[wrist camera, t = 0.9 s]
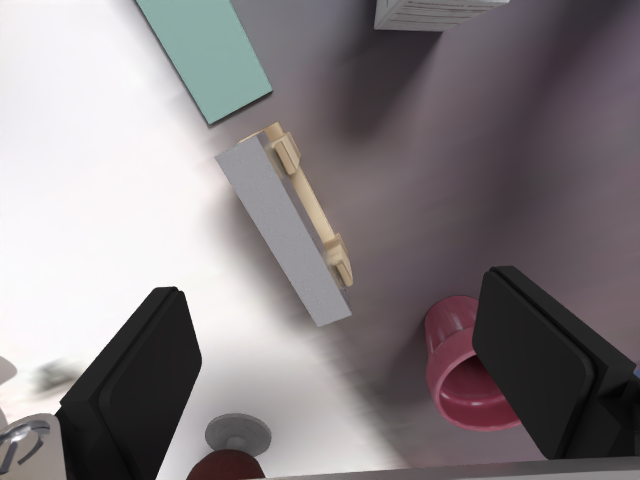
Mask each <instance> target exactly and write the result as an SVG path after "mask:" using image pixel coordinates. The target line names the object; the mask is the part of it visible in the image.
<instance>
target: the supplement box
mask: <svg viewBox="0 0 640 480" xmlns="http://www.w3.org/2000/svg"><path fill="white" fill-rule="evenodd" d="M509 1H510V0H377V6H376V14H375V23H374V29H375V30H377V29H381V30H412V31H445V30H448V29H450V28H452V27H455V26H457V25H459V24H461V23H464V22H466V21H468V20H470V19H472V18H474V17H476V16H479V15H481V14H483V13H485V12H487V11H489V10H492V9H494V8H496V7H499V6H502V5H505V4H507V3H508V2H509Z"/></svg>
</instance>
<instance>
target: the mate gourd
mask: <svg viewBox="0 0 640 480" xmlns="http://www.w3.org/2000/svg"><path fill="white" fill-rule="evenodd" d="M205 438H206V441H207V443H208V445H209V446H210V447H211V448H212V449H214V450H215V451H214V452H212V453H210V454H208V455H207V456H206V457H205V458H203V459H202V460H201V461H200V462H199V463H197V464H196V465H195V466H194V467H193V468H192V470H191V472H190V474H189V475H188V477H187V479H186V480H249V479H263V478H266V477H265V475H264V473H263V471H262V469H261V467H260V465H259V463H258V461H257V460H256V459H255V458H254V456H257V455H260V454H262V453H263V452H265V451H266V450H267V449H268V447H269V445H270V442H271V432H270V430H269V428H268V427H267V425H265V424H264V423H263V422H262V421H260V420H259V419H257V418H254V417H252V416H248V415H244V414H226V415H222V416H219V417H217V418H215V419H214V420H212V421H211V422H210V423H209V425H208V427H207V429H206V432H205Z"/></svg>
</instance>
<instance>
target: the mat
mask: <svg viewBox="0 0 640 480" xmlns="http://www.w3.org/2000/svg"><path fill="white" fill-rule="evenodd" d="M136 1H137V2H138V4H139V6H140V8H141V9H142V11H143V13H144V14H145V16H146V18H147V19H148V21H149V23H150V25H151V26H152V28H153V30H154V31H155V33H156V35H157V36H158V38H159V40H160V42H161V43H162V45H163V47H164V48H165V50H166V52H167V53H168V55H169V57H170V59H171V60H172V62H173V64H174V65H175V67H176V69H177V70H178V72H179V74H180V76H181V77H182V79H183V81H184V82H185V84H186V86H187V87H188V89H189V91H190V93H191V94H192V96H193V98H194V99H195V101H196V103H197V104H198V106H199V108H200V110H201V111H202V113H203V115H204V116H205V118H206V120H207V121H208V123H209V124H212V123H214V122H216V121H217V120H219V119H221V118H223V117H225V116H227V115H228V114H230V113H232V112H234V111H236V110H238V109H240V108H241V107H243V106H245V105H247V104H249V103H251V102H252V101H254V100H256V99H258V98H260V97H262V96H264V95H265V94H267V93H269V92H271V91H273V89H272V87H271V85H270V83H269V81H268V79H267V77H266V75H265V72H264V70H263V68H262V66H261V64H260V62H259V60H258V58H257V56H256V54H255V52H254V50H253V48H252V46H251V44H250V42H249V39H248V37H247V35H246V33H245V31H244V29H243V27H242V25H241V23H240V21H239V19H238V17H237V15H236V13H235V11H234V8H233V6H232V4H231V2H230V0H136Z"/></svg>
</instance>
